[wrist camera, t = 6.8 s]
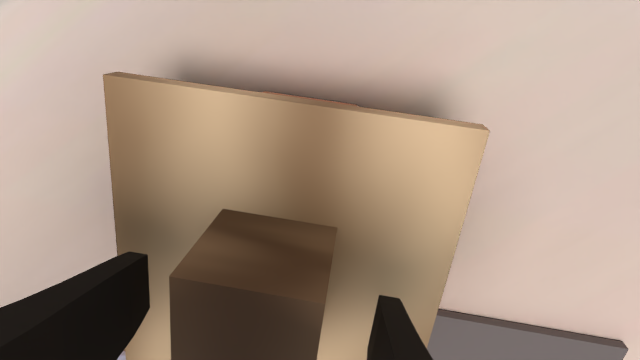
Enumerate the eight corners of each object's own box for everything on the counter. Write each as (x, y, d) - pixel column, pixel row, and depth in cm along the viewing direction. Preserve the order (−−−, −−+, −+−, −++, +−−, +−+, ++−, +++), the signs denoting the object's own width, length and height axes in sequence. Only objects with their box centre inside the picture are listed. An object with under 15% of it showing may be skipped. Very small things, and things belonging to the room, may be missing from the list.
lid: (136, 347, 18) (58, 455, 13) (117, 71, 13) (-9, 95, 9) (405, 398, 17) (418, 530, 13) (482, 124, 13) (544, 179, 8)
